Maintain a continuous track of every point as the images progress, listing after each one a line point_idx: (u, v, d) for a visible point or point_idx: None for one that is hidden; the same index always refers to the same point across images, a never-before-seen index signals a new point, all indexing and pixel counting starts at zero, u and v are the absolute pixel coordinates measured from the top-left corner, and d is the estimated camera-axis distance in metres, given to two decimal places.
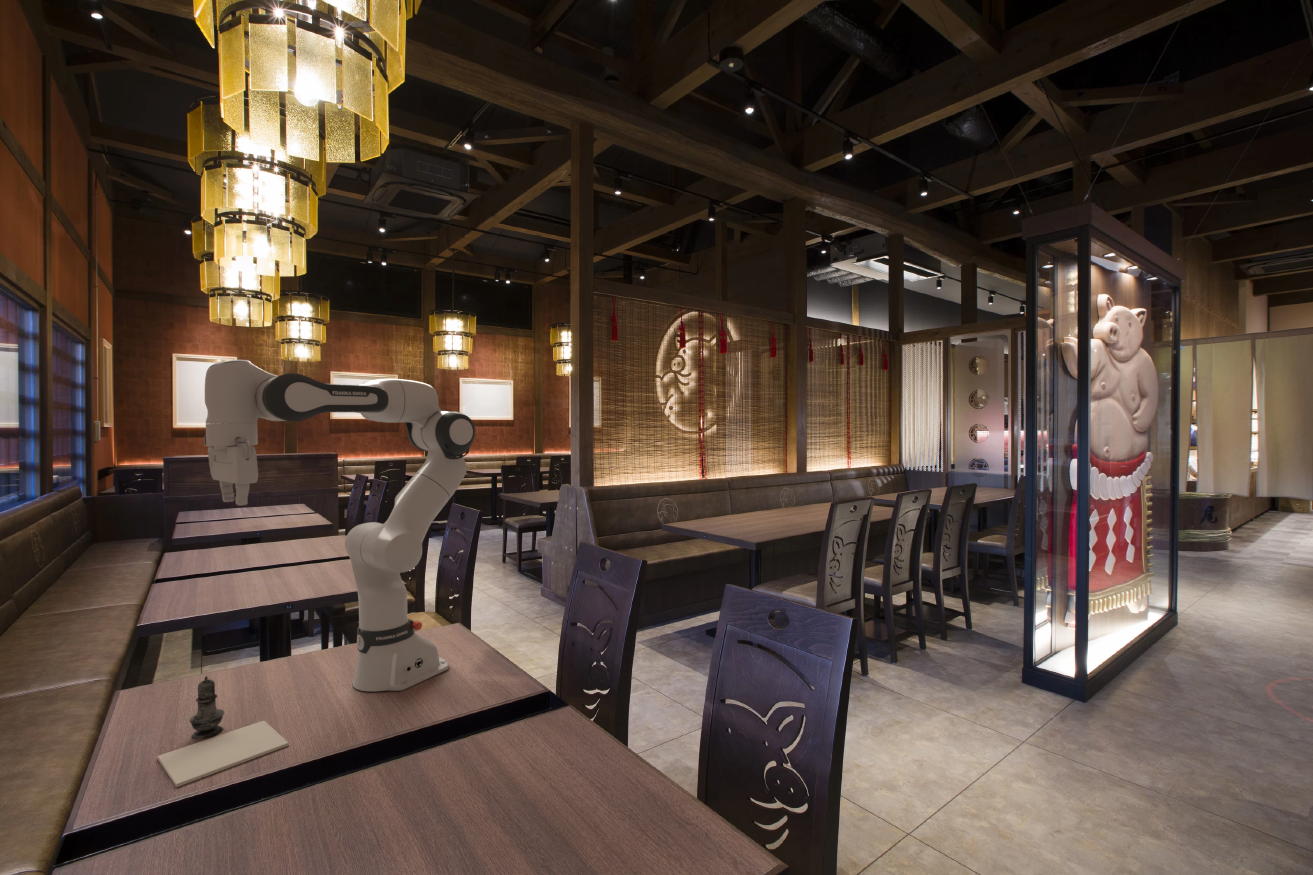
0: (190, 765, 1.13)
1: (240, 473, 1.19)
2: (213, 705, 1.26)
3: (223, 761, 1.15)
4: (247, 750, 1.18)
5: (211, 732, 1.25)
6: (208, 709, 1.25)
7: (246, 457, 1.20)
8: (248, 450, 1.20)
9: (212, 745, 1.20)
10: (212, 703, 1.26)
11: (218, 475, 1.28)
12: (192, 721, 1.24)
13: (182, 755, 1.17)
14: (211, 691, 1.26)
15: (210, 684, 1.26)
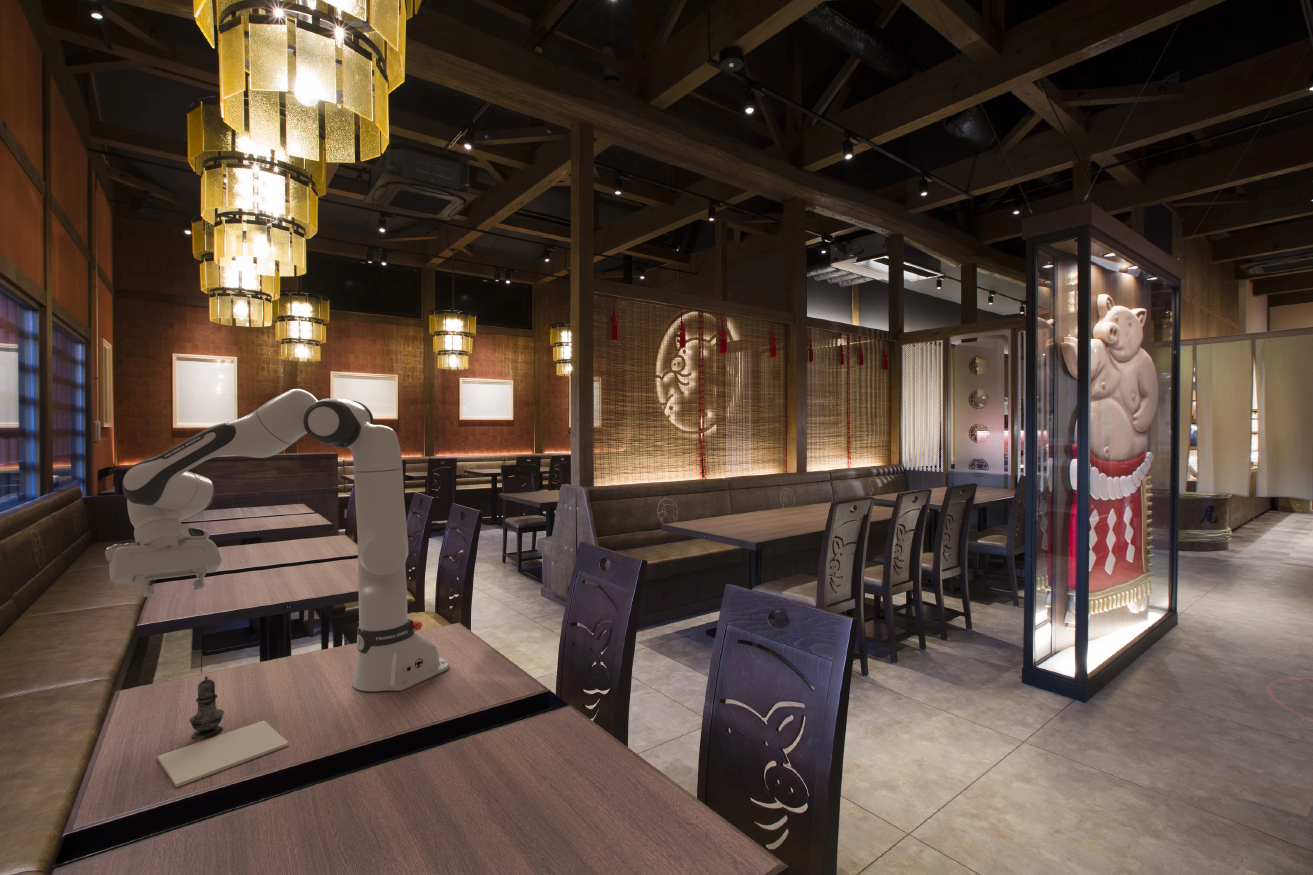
0: (190, 765, 1.13)
1: (110, 575, 1.31)
2: (213, 705, 1.26)
3: (223, 761, 1.15)
4: (247, 750, 1.18)
5: (211, 732, 1.25)
6: (208, 709, 1.25)
7: (108, 560, 1.31)
8: (105, 554, 1.32)
9: (212, 745, 1.20)
10: (212, 703, 1.26)
11: None
12: (192, 721, 1.24)
13: (182, 755, 1.17)
14: (211, 691, 1.26)
15: (210, 684, 1.26)
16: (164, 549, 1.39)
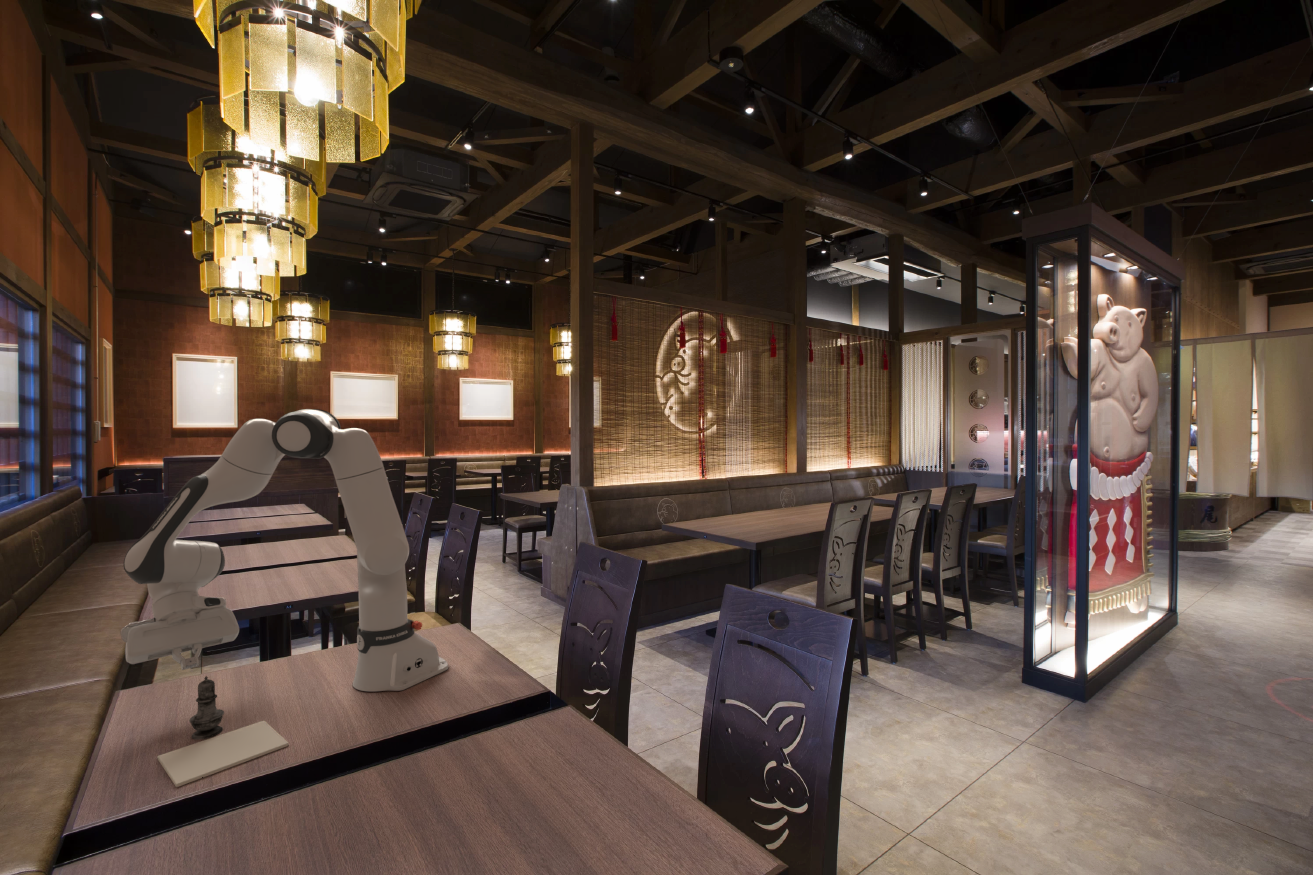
0: (190, 765, 1.13)
1: None
2: (213, 705, 1.26)
3: (223, 761, 1.15)
4: (247, 750, 1.18)
5: (211, 732, 1.25)
6: (208, 709, 1.25)
7: (124, 640, 1.30)
8: (121, 635, 1.31)
9: (212, 745, 1.20)
10: (212, 703, 1.26)
11: None
12: (192, 721, 1.24)
13: (182, 755, 1.17)
14: (211, 691, 1.26)
15: (210, 684, 1.26)
16: (179, 623, 1.37)
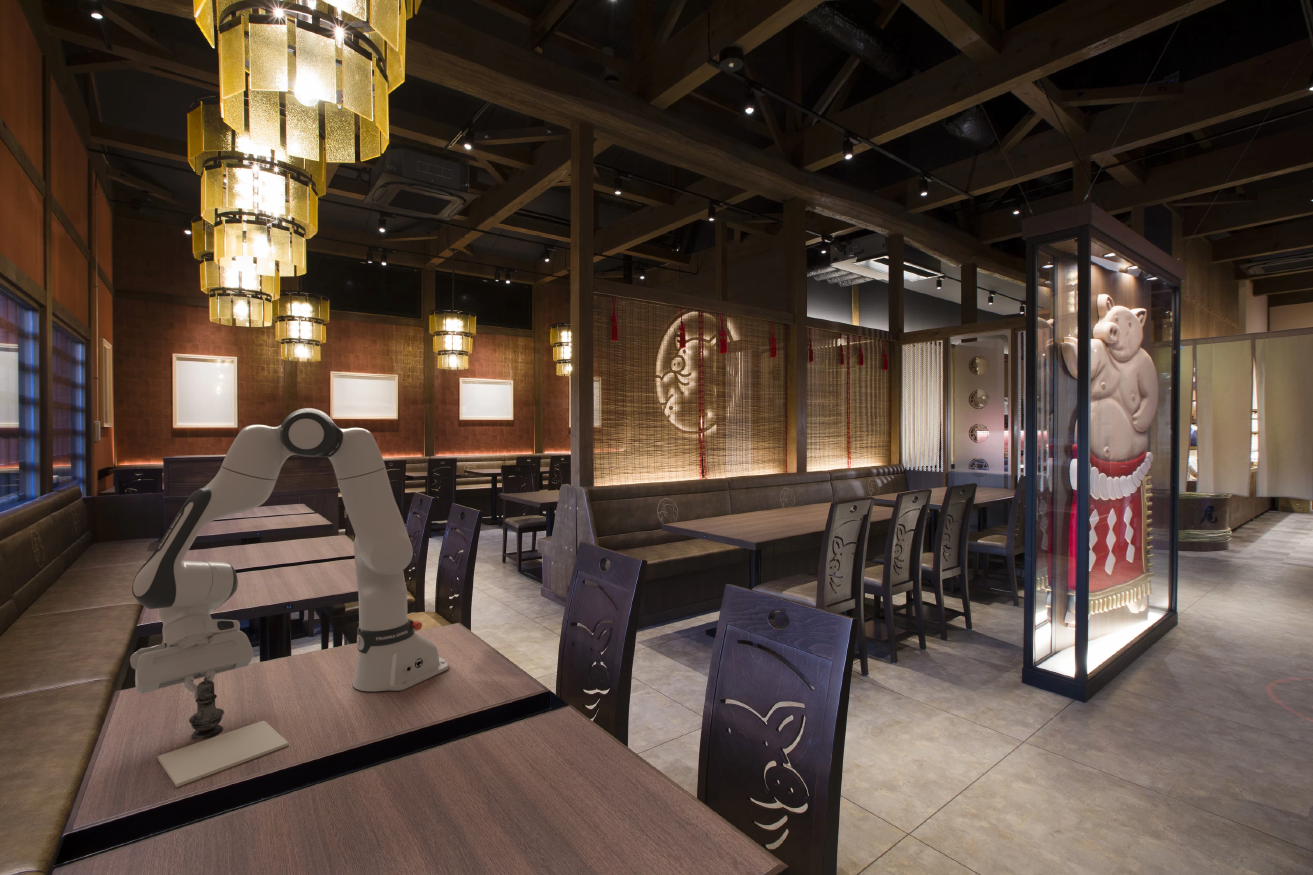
0: (190, 765, 1.13)
1: None
2: (213, 706, 1.26)
3: (223, 761, 1.15)
4: (247, 750, 1.18)
5: (211, 732, 1.25)
6: (207, 710, 1.25)
7: None
8: (130, 662, 1.24)
9: (212, 745, 1.20)
10: (212, 703, 1.25)
11: None
12: (192, 721, 1.24)
13: (182, 755, 1.17)
14: (211, 692, 1.25)
15: (210, 685, 1.25)
16: (191, 648, 1.30)
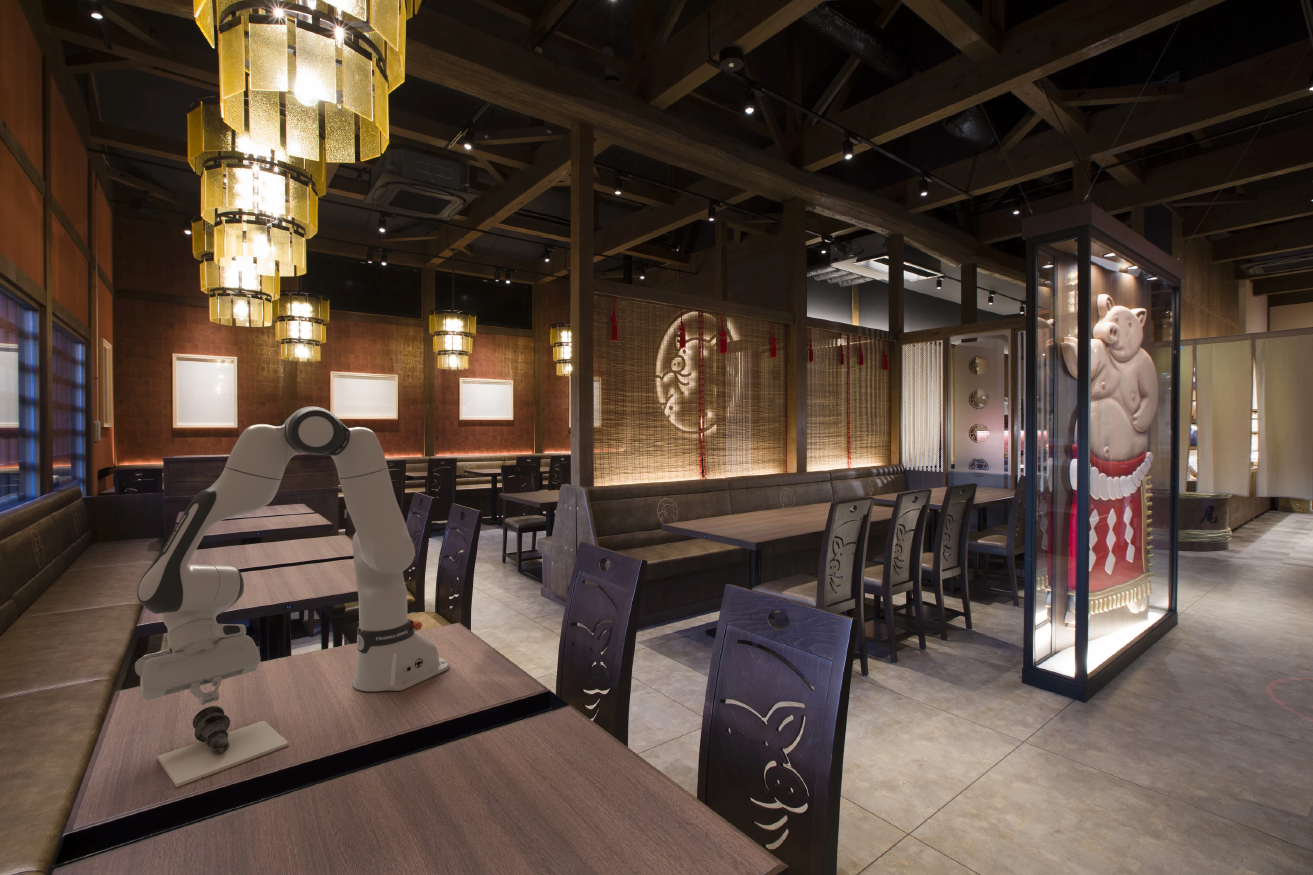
0: (190, 765, 1.13)
1: None
2: None
3: (223, 761, 1.15)
4: (247, 750, 1.18)
5: None
6: None
7: None
8: (135, 668, 1.21)
9: None
10: None
11: None
12: (197, 737, 1.20)
13: (182, 755, 1.17)
14: None
15: None
16: (197, 654, 1.28)
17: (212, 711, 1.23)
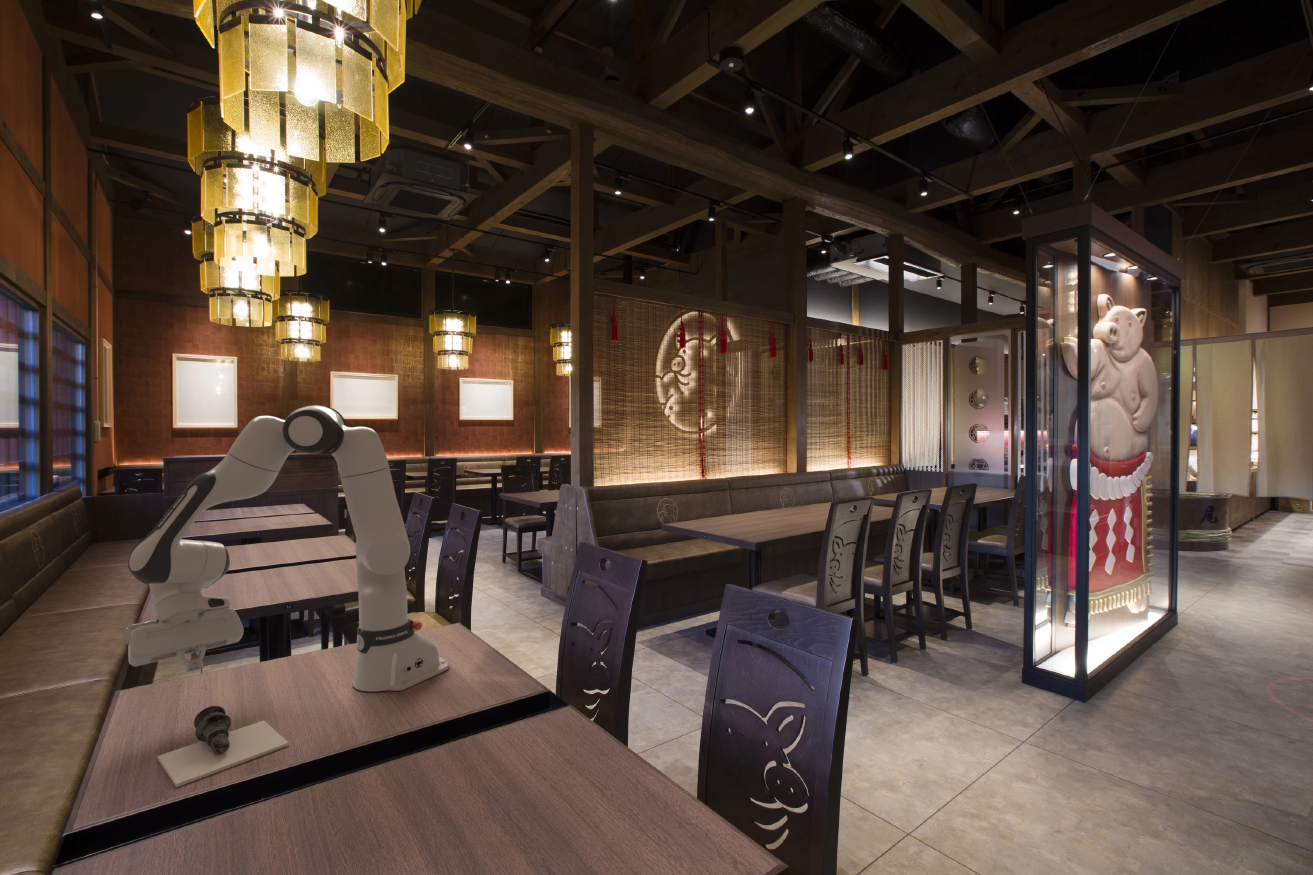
0: (190, 765, 1.13)
1: (128, 658, 1.27)
2: None
3: (223, 761, 1.15)
4: (247, 750, 1.18)
5: None
6: None
7: (126, 642, 1.28)
8: (123, 636, 1.28)
9: None
10: None
11: None
12: (198, 736, 1.20)
13: (182, 755, 1.17)
14: None
15: None
16: (183, 624, 1.34)
17: (214, 711, 1.24)
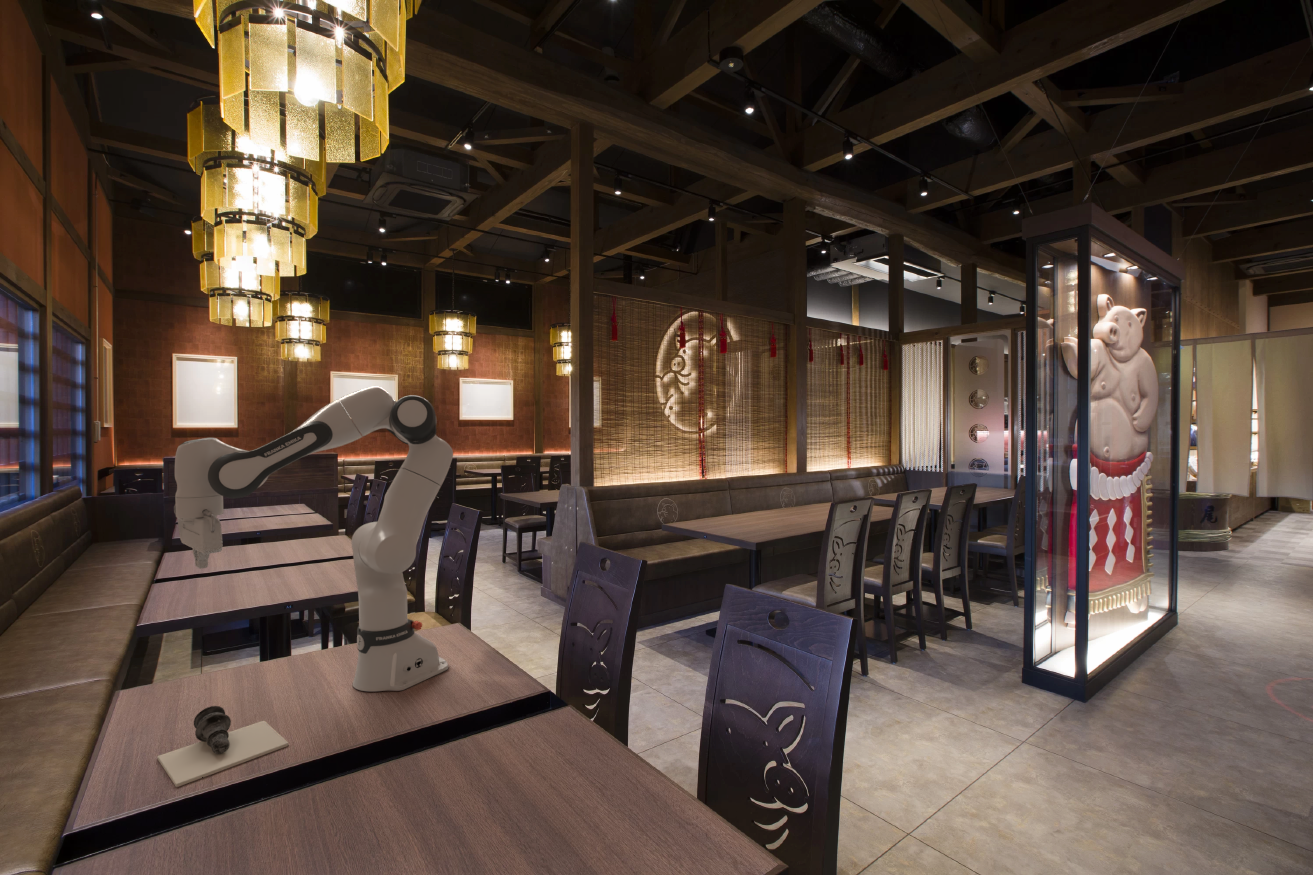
0: (190, 765, 1.13)
1: (206, 545, 1.33)
2: None
3: (223, 761, 1.15)
4: (247, 750, 1.18)
5: None
6: None
7: (211, 530, 1.34)
8: (213, 523, 1.34)
9: None
10: None
11: (186, 541, 1.42)
12: (198, 737, 1.20)
13: (182, 755, 1.17)
14: None
15: None
16: None
17: (213, 711, 1.24)
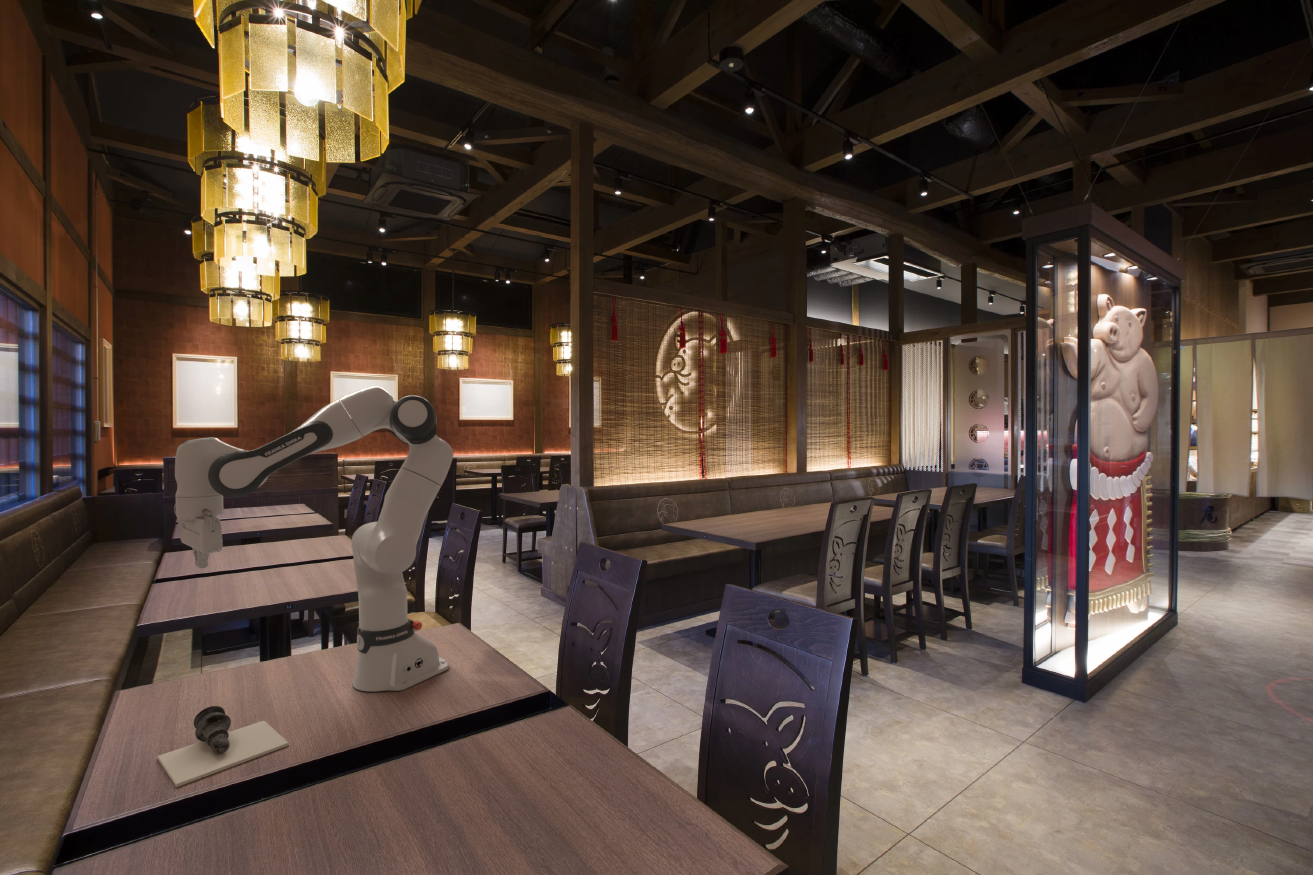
0: (190, 765, 1.13)
1: (206, 544, 1.33)
2: None
3: (223, 761, 1.15)
4: (247, 750, 1.18)
5: None
6: None
7: (212, 529, 1.34)
8: (213, 523, 1.34)
9: None
10: None
11: (186, 541, 1.42)
12: (198, 737, 1.20)
13: (182, 755, 1.17)
14: None
15: None
16: None
17: (213, 711, 1.24)
